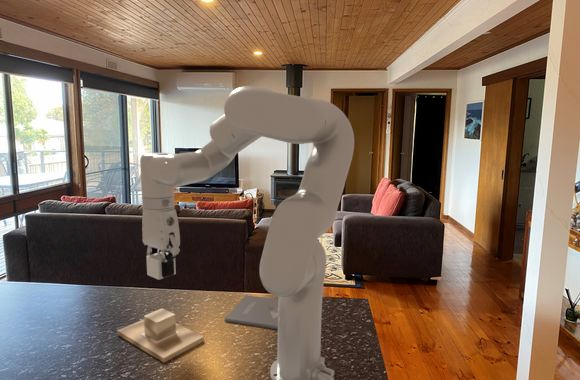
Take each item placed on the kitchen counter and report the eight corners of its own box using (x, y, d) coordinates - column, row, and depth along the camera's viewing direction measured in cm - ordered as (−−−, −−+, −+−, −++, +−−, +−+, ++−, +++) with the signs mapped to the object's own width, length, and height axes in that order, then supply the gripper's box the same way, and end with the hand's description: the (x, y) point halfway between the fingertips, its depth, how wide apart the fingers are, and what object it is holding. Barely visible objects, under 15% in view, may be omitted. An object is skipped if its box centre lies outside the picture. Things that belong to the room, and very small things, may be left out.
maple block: (175, 332, 105) (175, 314, 104) (157, 341, 100) (156, 322, 99) (162, 325, 108) (162, 308, 107) (144, 334, 104) (143, 315, 103)
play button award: (245, 295, 129) (307, 302, 124) (245, 299, 129) (306, 307, 124) (224, 318, 113) (293, 328, 108) (224, 323, 114) (293, 333, 108)
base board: (203, 341, 103) (203, 336, 103) (163, 362, 94) (163, 357, 93) (157, 317, 115) (157, 313, 115) (117, 334, 106) (117, 330, 105)
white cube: (175, 274, 103) (175, 255, 102) (158, 279, 99) (157, 260, 99) (164, 269, 106) (163, 251, 105) (147, 274, 102) (146, 256, 102)
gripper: (192, 205, 97) (194, 277, 100) (152, 196, 108) (155, 261, 111) (165, 210, 92) (168, 286, 95) (126, 200, 102) (129, 269, 105)
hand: (161, 272), depth 103 cm, fingers closed on white cube, 5 cm apart
